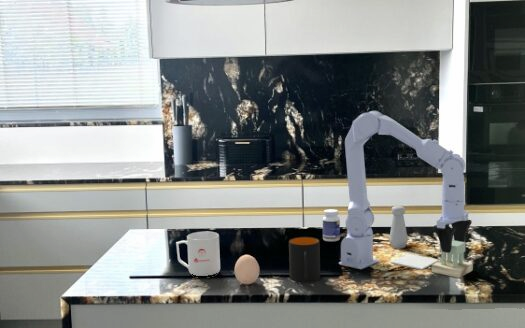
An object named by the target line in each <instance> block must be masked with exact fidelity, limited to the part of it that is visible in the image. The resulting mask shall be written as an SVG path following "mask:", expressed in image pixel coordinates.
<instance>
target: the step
mask: <svg viewBox="0 0 525 328" xmlns="http://www.w3.org/2000/svg"><path fill="white" fill-rule="evenodd" d="M473 268H474V264H473V262H469V261H468V262H467V261H464V260H463V264H459V260H458V267H453V258H452V261H451V262H447V257H446V265H441V260H439V261H438V262H436V263H434V264H432V265H431V273H434V274H439V275H445V276H448V277H453V278H458V279H459V278H462V277H464V276H465V275H467V274H469V273H471V272H472V271H473Z"/></svg>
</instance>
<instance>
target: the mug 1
mask: <svg viewBox="0 0 525 328" xmlns="http://www.w3.org/2000/svg"><path fill="white" fill-rule="evenodd" d="M181 244H186V245H187V262H188V264H187V263H186V262H185V261H183V260H182V259H181V257H180V248H179V247H180V246H179V245H181ZM175 245H176V254H177V261H178V263H180V264H181V265H182V266H183V267H186V268H187V269H188V272H189V273H190V275H192V274H193V275H196V276H208V275H213V274H216V273H217V274H219V272H220V270H221V257H220V256H221V255H220V235H219V233H217V232H214V231H196V232H192V233H189V234H188V235H186V240H179V241H176V242H175ZM217 274H216V275H217ZM193 275H192V276H193Z"/></svg>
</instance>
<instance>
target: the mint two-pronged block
mask: <svg viewBox="0 0 525 328" xmlns="http://www.w3.org/2000/svg"><path fill="white" fill-rule="evenodd" d="M465 252H466V241H464V242H460V241H454V239H452V246H451V251H450V253H447V252H442V249H441V245H440V244H439V253H440V254H441V257H440V258H441V259H440V261H441V265H446V258H447V262H451V261H452V259H453V267H458V261H459V264H463V261H464V253H465Z"/></svg>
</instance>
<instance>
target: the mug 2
mask: <svg viewBox="0 0 525 328" xmlns="http://www.w3.org/2000/svg"><path fill="white" fill-rule="evenodd" d="M320 244H321V243H320V239H319V238H316V237H312V236H299V237H293V238H291V239H289V240H288V255H289V256H288V257H289V258H288V259H289V279H290V280H291V281H292V282H295V283H301V284H305V283H306V284H307V283H313V282H317V281H319V280H320V279H321V255H320V254H321V253H320V251H321V250H320V248H321V247H320Z"/></svg>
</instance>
